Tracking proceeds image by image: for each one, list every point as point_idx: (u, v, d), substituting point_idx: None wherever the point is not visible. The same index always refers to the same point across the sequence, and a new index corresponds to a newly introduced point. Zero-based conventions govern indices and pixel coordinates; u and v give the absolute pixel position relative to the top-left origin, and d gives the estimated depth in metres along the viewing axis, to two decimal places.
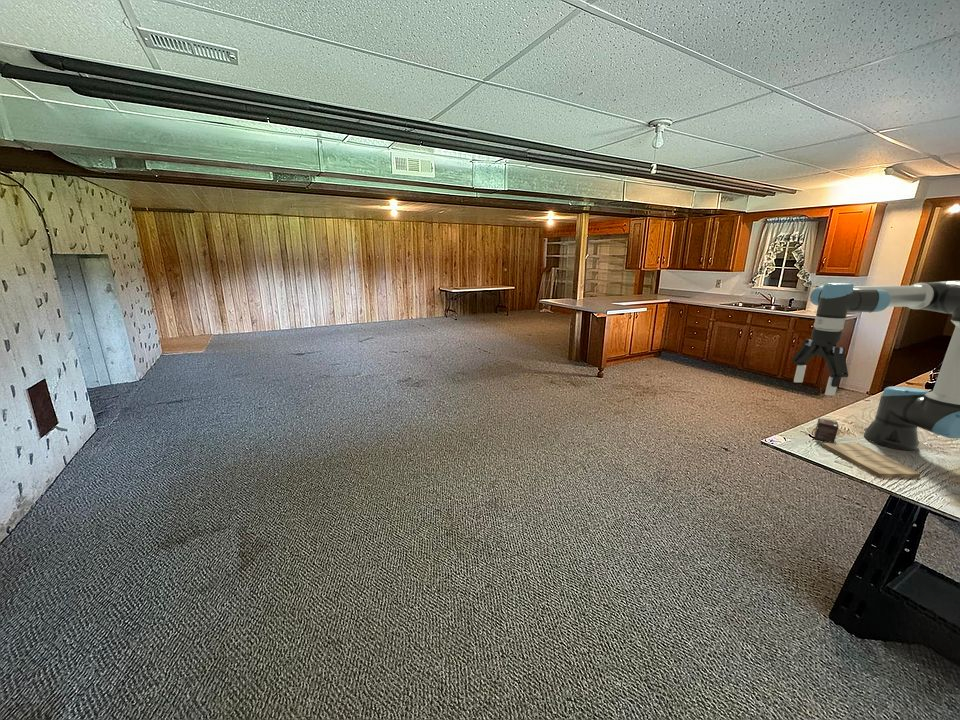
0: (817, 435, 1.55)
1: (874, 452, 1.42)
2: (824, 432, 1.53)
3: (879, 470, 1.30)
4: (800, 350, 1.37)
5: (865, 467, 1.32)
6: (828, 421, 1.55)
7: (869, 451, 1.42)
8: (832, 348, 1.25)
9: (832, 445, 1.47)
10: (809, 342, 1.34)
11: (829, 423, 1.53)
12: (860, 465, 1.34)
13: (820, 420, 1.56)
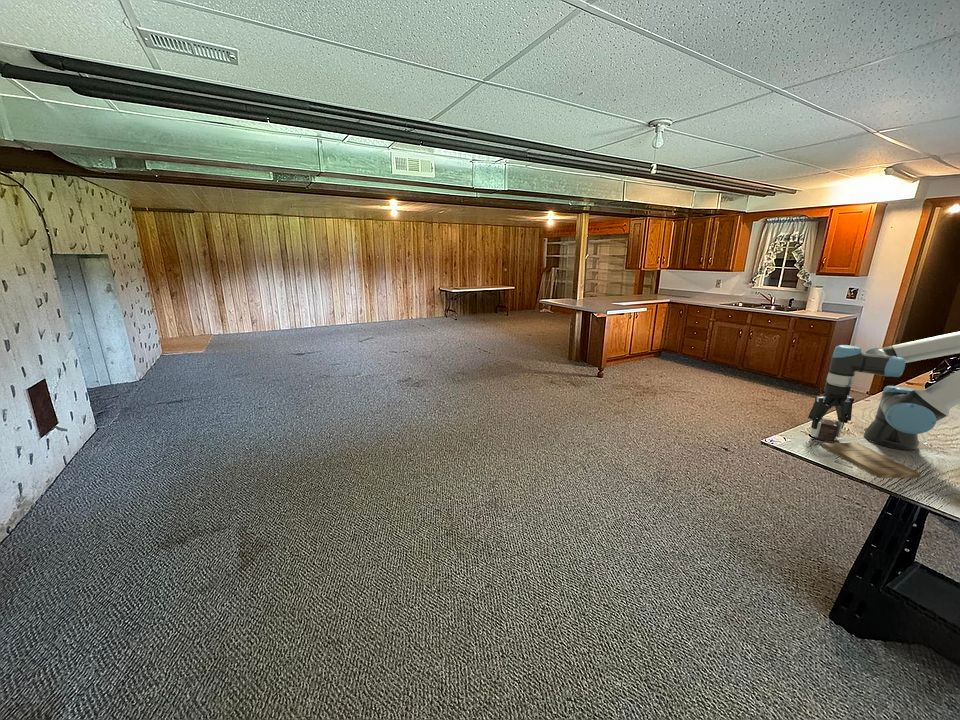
0: None
1: (874, 452, 1.42)
2: (824, 432, 1.53)
3: (879, 470, 1.30)
4: None
5: (865, 467, 1.32)
6: (828, 421, 1.55)
7: (869, 451, 1.42)
8: (823, 397, 1.52)
9: (832, 445, 1.47)
10: None
11: (829, 423, 1.53)
12: (860, 465, 1.34)
13: (820, 420, 1.56)
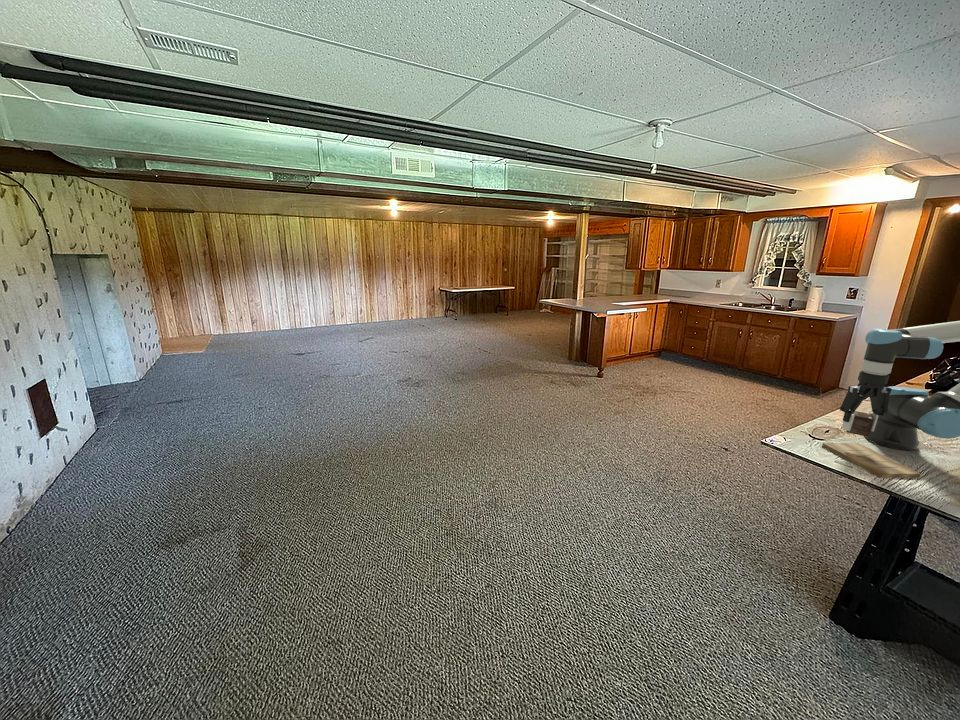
0: None
1: (874, 452, 1.42)
2: (857, 426, 1.39)
3: (879, 470, 1.30)
4: None
5: (865, 467, 1.32)
6: (862, 413, 1.41)
7: (869, 451, 1.42)
8: None
9: (832, 445, 1.47)
10: None
11: (863, 415, 1.39)
12: (860, 465, 1.34)
13: None
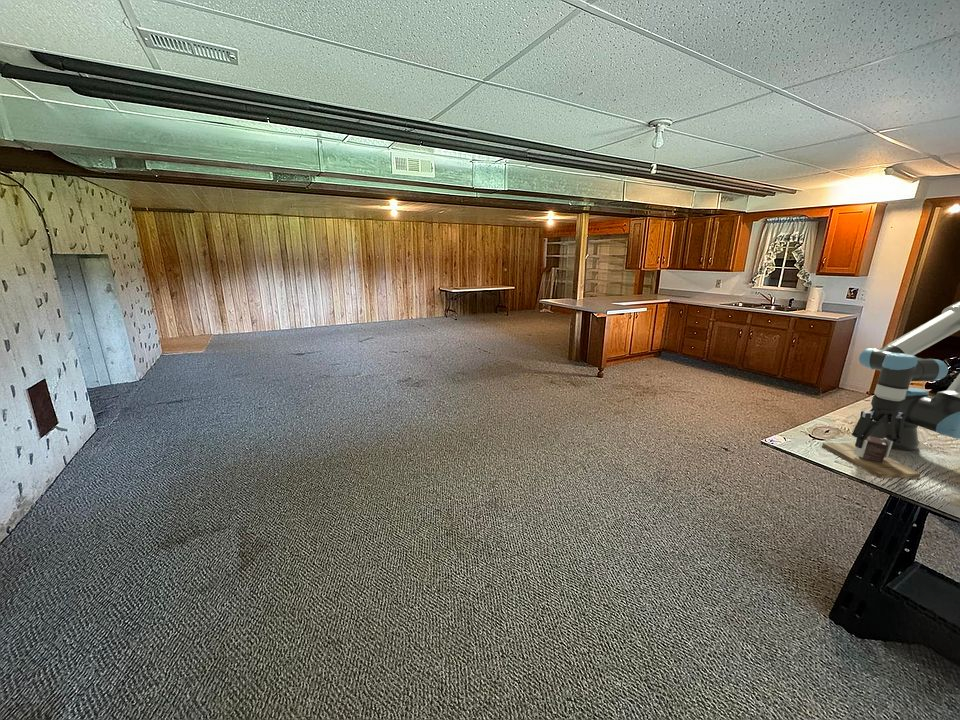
0: None
1: None
2: (870, 452, 1.35)
3: (879, 470, 1.30)
4: None
5: (865, 467, 1.32)
6: (875, 438, 1.36)
7: None
8: None
9: (832, 445, 1.47)
10: None
11: (876, 441, 1.34)
12: (860, 465, 1.34)
13: None
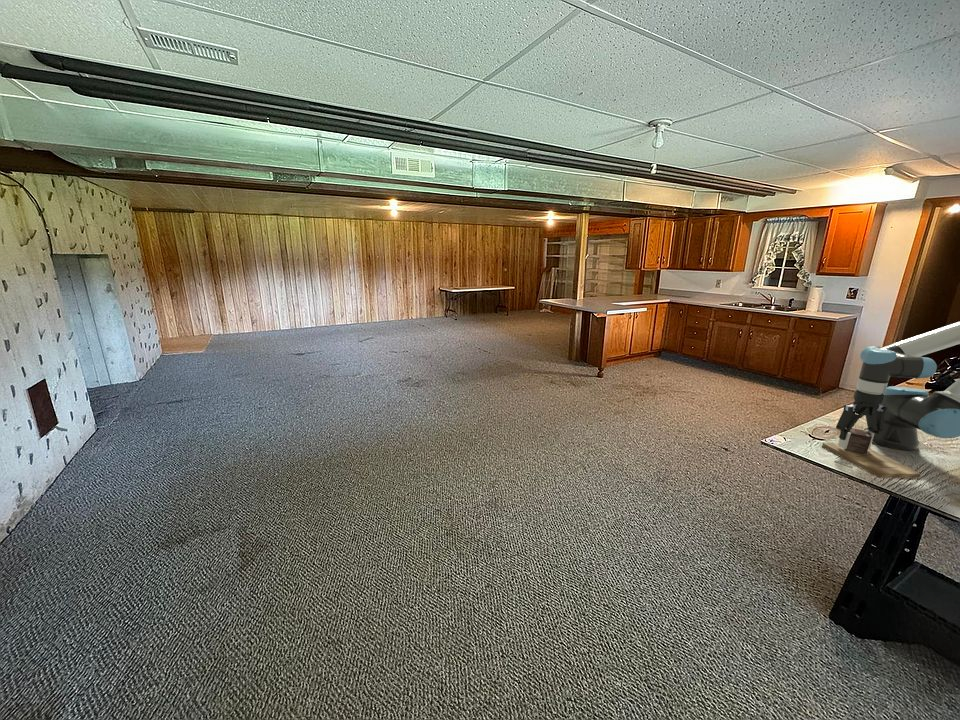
0: (848, 446, 1.42)
1: (874, 452, 1.42)
2: (855, 443, 1.41)
3: (879, 470, 1.30)
4: None
5: (865, 467, 1.32)
6: (859, 430, 1.42)
7: (869, 451, 1.42)
8: None
9: (832, 445, 1.47)
10: None
11: (860, 433, 1.40)
12: (860, 465, 1.34)
13: None
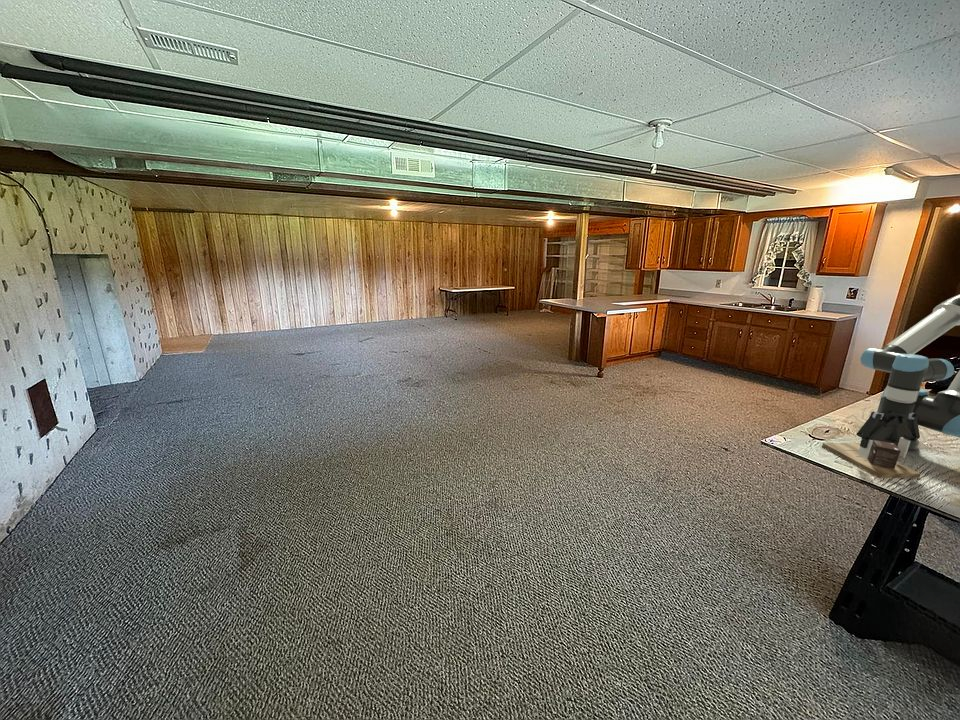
0: (874, 460, 1.33)
1: None
2: (883, 457, 1.31)
3: (879, 470, 1.30)
4: None
5: (865, 467, 1.32)
6: (885, 443, 1.33)
7: None
8: None
9: (832, 445, 1.47)
10: None
11: (888, 446, 1.31)
12: (860, 465, 1.34)
13: (876, 442, 1.34)
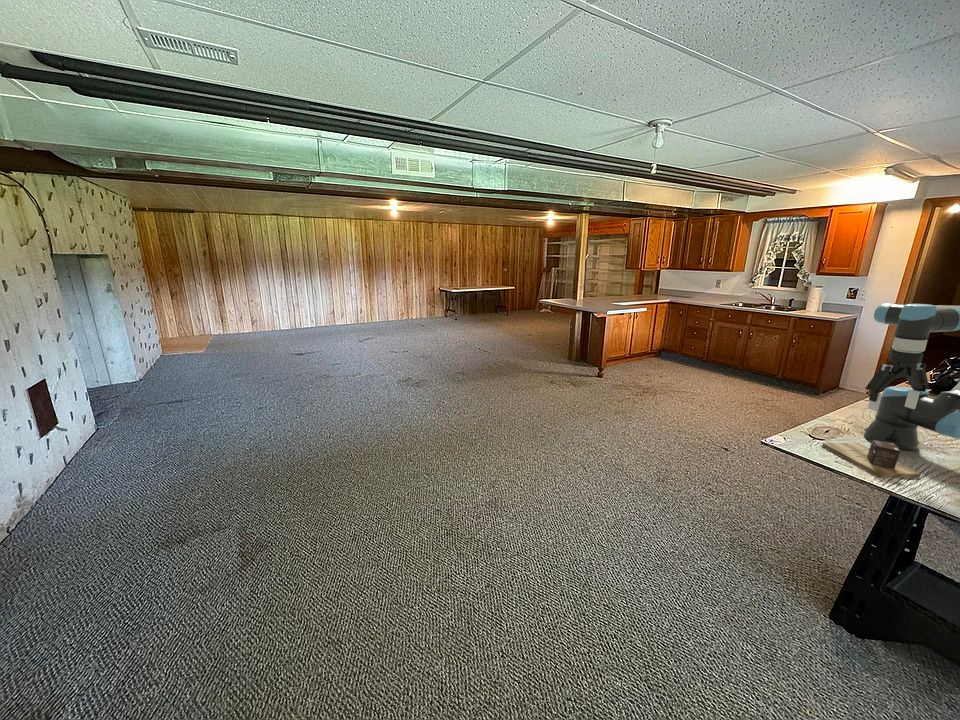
0: (874, 460, 1.33)
1: None
2: (883, 457, 1.31)
3: (879, 470, 1.30)
4: None
5: (865, 467, 1.32)
6: (885, 443, 1.33)
7: None
8: None
9: (832, 445, 1.47)
10: None
11: (888, 446, 1.31)
12: (860, 465, 1.34)
13: (876, 442, 1.34)
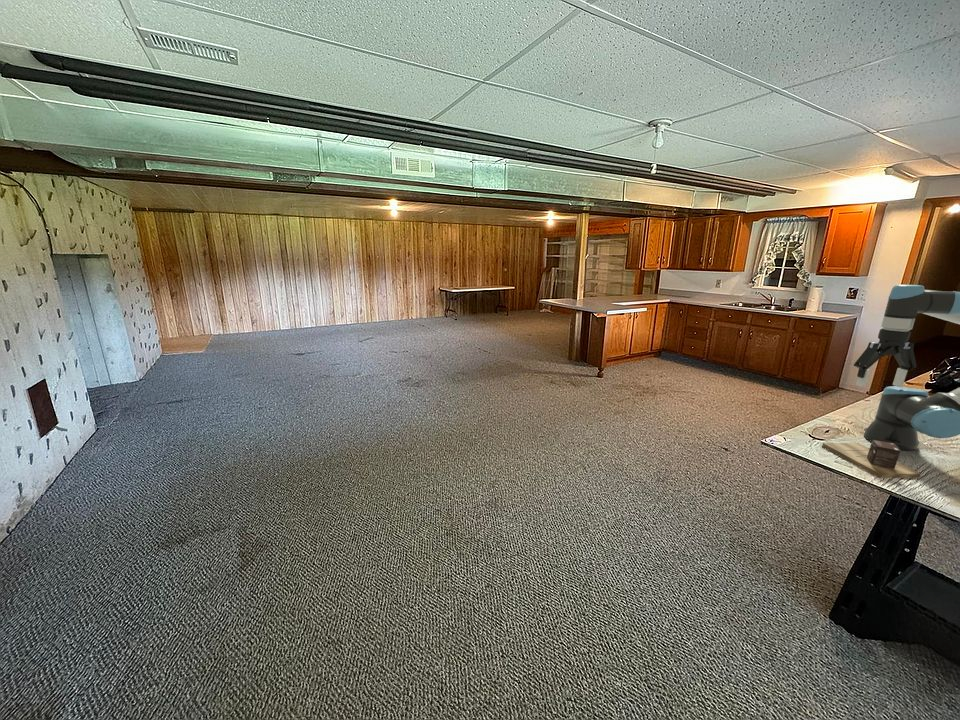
0: (874, 460, 1.33)
1: None
2: (883, 457, 1.31)
3: (879, 470, 1.30)
4: None
5: (865, 467, 1.32)
6: (885, 443, 1.33)
7: None
8: None
9: (832, 445, 1.47)
10: None
11: (888, 446, 1.31)
12: (860, 465, 1.34)
13: (876, 442, 1.34)
